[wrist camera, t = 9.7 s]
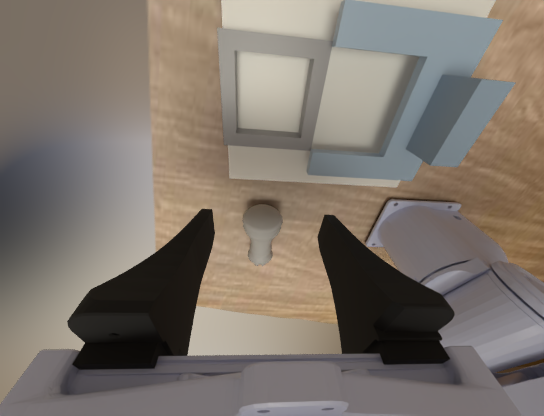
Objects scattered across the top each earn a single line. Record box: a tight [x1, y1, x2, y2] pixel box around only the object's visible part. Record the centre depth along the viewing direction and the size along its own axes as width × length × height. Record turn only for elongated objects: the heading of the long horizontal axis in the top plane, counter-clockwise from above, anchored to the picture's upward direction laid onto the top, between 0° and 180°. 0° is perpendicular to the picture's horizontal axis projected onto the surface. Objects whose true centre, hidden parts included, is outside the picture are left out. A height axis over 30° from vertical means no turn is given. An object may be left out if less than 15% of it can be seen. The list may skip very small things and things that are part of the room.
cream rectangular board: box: [217, 0, 496, 188], centre depth 16 cm, size 18×15×3 cm
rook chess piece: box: [243, 204, 283, 266], centre depth 25 cm, size 4×4×8 cm
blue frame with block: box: [306, 0, 515, 181], centre depth 14 cm, size 9×11×4 cm
